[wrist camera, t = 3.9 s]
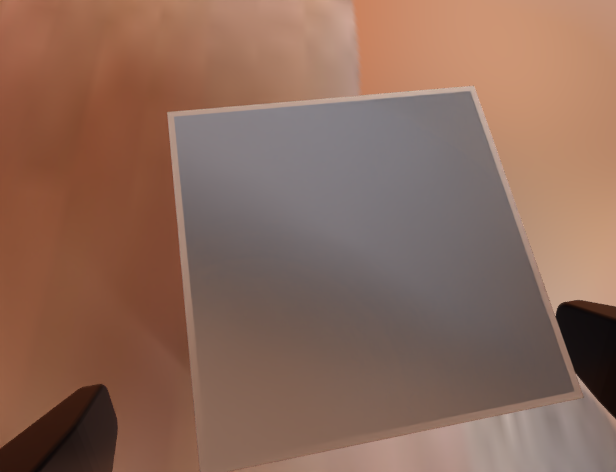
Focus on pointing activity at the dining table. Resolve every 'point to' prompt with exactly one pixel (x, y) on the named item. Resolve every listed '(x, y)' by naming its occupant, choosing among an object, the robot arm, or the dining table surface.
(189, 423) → the dining table surface
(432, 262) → the tin
